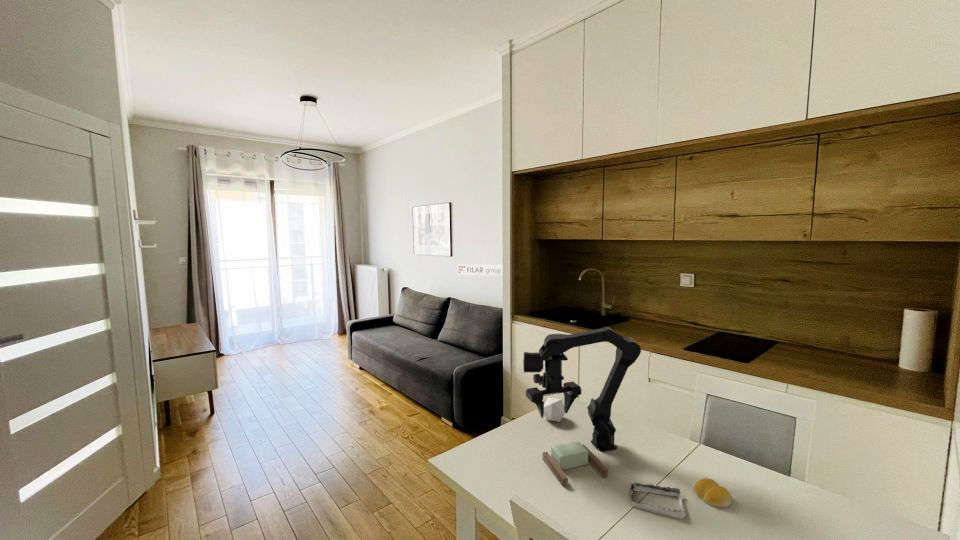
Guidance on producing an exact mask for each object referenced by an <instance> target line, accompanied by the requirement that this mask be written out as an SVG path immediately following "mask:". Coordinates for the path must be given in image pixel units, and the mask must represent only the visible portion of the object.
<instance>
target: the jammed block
mask: <svg viewBox="0 0 960 540" xmlns="http://www.w3.org/2000/svg"><path fill="white" fill-rule="evenodd" d="M550 456H551V457H552V458H553V460H554V461H555V462H556V463H557V465H558V466H559V467H560V469H561V470H562V471H563V470H568V469H574V468H577V467H581V466H587V465H589V462H588V450H587V449H586V448H585V447H584V446H583V444H582V443H581V442H580V441H572V442H566V443H563V444H556V445H551V446H550Z"/></svg>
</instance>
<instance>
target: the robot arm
mask: <svg viewBox="0 0 960 540" xmlns="http://www.w3.org/2000/svg"><path fill="white" fill-rule="evenodd" d="M605 342H609V343H610V344H612V345H613V346H614V347H616V348H615V356H614V357H615V359H614V362H613V365H612V367H611V369H610V372H609V374H608V376H607V378H606V381H605V383H604V385H603V387H602V389H601V391H600V395H599V396H598V397H597V398H596V399H595V398H592V397H591V398H590V402H589V404H588V406H587V407H586V409H587V415H588V417H589V420H590V422H591V424H592V426H593V431H592V438H591V439H592V440H590V443H591V444H592V445H593V446H594V447H595V448H596V449H597V450H598V451H600V452H606V451H612V450H615V449H618V446H617V444H615V435H616V434H615V433H616V431H617V429H616V427H615V425H614V423H613V420H612V419H611V417H612V416H611V415H612V406H613V405H612V404H613V402H614V401H615V398H616V395H617V393H618V391H619V389H620V387H621V384H622V382H623V380H624V378H625V375H626V373H627V371H628V369H629V368H630V367H631V366H632V365H633V364H634V363H635V362H636V361H637V360H638V358H639V357H640V356H641V353H642V349H641V346H640V345H639V344H638V342H636V341H635V340H634V339H633V338H632V337H630V336H623V335H622V334H620V333H619V332H616V331H615V330H613V329H612V328H611V327H609V326H604V327H602V328H597V329H596V328H595V329H592V330H586V331H582V332H577V333H571V334H570V333H569V334H563V333H550V334H547V335H546V336H545V338H544V341H543V344H542V346H540V348H539V349H538V352H530V351H529V352H528V351H524V352H523V360H522V361H523V363H522V365H523V366H522V367H523V373H534V374H533V377H532V378H533V379H532V380H533V383H534V384H538V386H541V387H542V389H541V390H540V389H539V388H538V387H536V386H535V387H529V388H527V389H526V391H525V397H526V398H527V399H528V400H529V401H530V402H531V403H534V404H535V405H536V408H537V410H538V412H539V416H540V418H541V419H543V418H544V416H545V415H544V404H545V402H544V401H543V400H544V397H545V396H552V395H557V394H563V396H564V399H563V400H564V402H563V405H564V411H565V414H568V412H569V411H570V408H571V407H572V405H573V404H574V401H575V400H576V399H577V398H579V396H580V395H582V392H583V391H582V387H581V386H580V385H579V384H578V383H576V382H575V381H573V380H572V381H568V382H564V383H563V381H564V380H565V376H563V362H564V361H568V360H569V358H568V356H567V355H566V354H565V353H566V352H567V351H569V350H571V349H573V348H578V347H583V346H584V347H585V346H587V345H593V344H598V343H605ZM543 370H544V372H543ZM541 372H543V374H541V375H540V373H541Z"/></svg>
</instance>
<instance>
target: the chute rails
mask: <svg viewBox="0 0 960 540" xmlns="http://www.w3.org/2000/svg"><path fill="white" fill-rule="evenodd" d="M582 445H583V446H584V447H585V448H586V449H587V450H588V464H590V465H591V466H592V467H593V468H594V470H596V471H597V473H599V474H600V476H601V477H602V478H603V479H605V478H608V477H609V468H608V467H607V466H606V465H605V464H604V463H603V462H602V461H600V459H599V458H598V457H597V456H596V455H595V454H594V453H593V452H592V451H591V450H590V449H589V447H587V446H586V445H585V444H582ZM542 461H543V462H544V464H545V465H546V467H547V468H548V469H549V470H550V472H551V473H552V474H553V476H554V477H555V478H556V480H557V481H558V482H559V484H560V485H561V486H562V487H563V488H564V487H565V488H566V487H568V486H569V479H568V476H567V475H566V474H565V472H564V471H563V470H561V469H560V467H559V466H558V465H557V463H556V462H555V461H554V460H553V458H552V457H551V454H550V453H549V452H548V451H543V452H542Z"/></svg>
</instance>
